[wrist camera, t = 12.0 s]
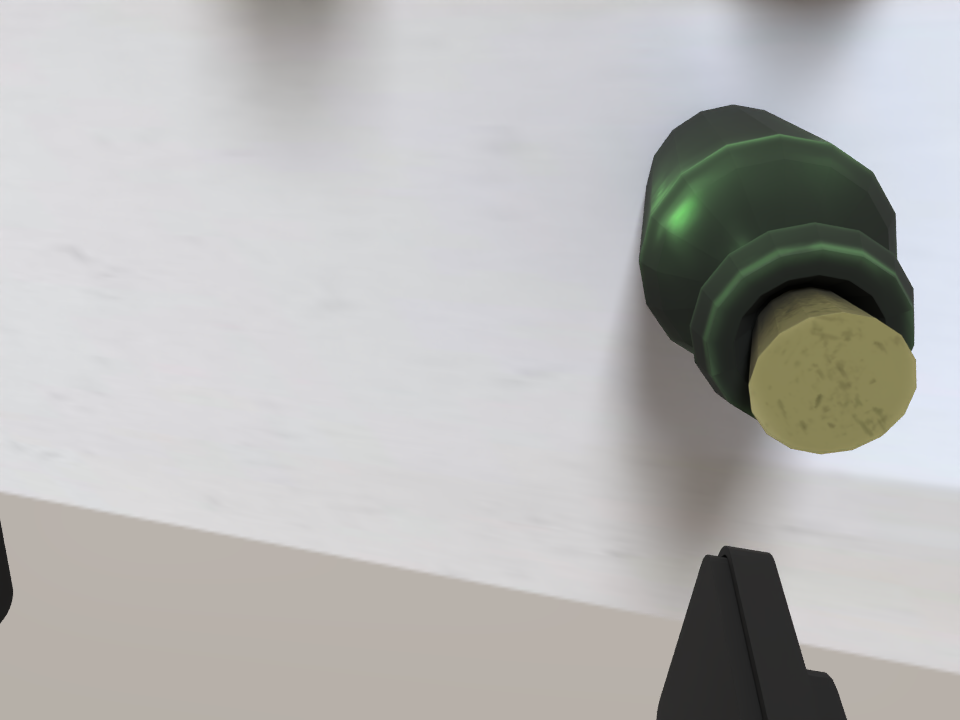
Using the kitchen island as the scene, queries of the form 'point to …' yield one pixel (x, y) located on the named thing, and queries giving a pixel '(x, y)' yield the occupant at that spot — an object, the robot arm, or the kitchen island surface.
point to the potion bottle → (780, 277)
